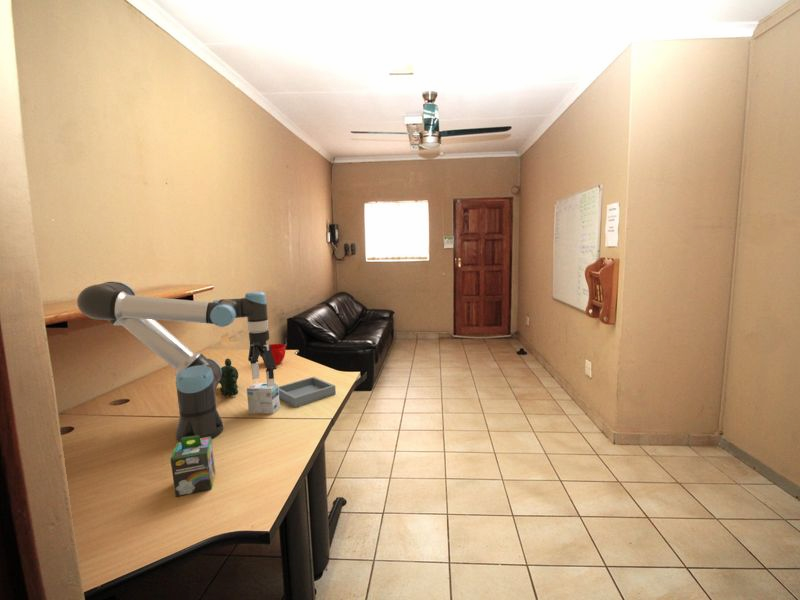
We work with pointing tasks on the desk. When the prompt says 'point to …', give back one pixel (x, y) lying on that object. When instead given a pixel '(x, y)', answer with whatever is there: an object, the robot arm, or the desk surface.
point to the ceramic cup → (278, 352)
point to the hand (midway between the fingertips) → (263, 382)
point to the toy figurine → (229, 379)
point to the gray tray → (305, 391)
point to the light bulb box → (263, 398)
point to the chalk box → (193, 465)
